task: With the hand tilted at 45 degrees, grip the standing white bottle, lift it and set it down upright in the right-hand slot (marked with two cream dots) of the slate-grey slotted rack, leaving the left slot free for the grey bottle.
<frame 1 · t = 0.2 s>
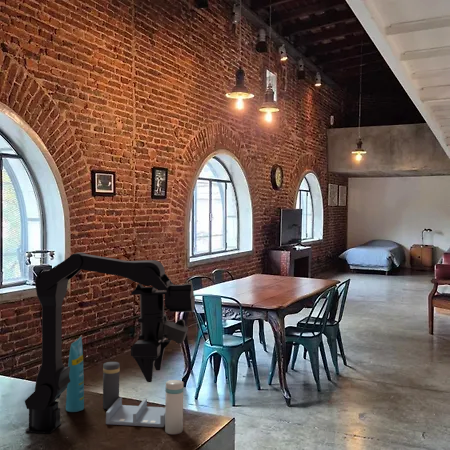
hand: (153, 375, 122), 14 cm above the table, tool pointing down, fingers open, 9 cm apart
grey bottle: (110, 406, 139), on the table
tube: (75, 409, 137), on the table
slot rack: (140, 417, 132), on the table
white bottle: (173, 430, 124), on the table
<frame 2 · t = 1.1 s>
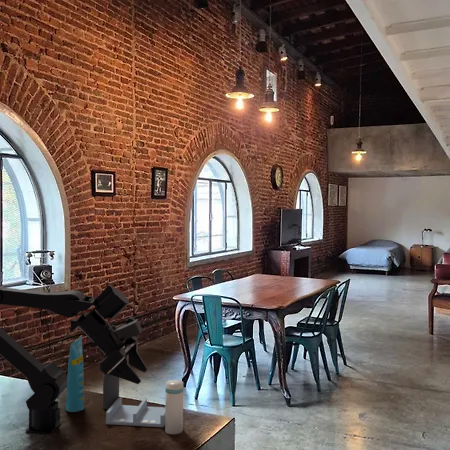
hand: (142, 376, 124), 13 cm above the table, tool tilted 45°, fingers open, 9 cm apart
nothing on the table moved.
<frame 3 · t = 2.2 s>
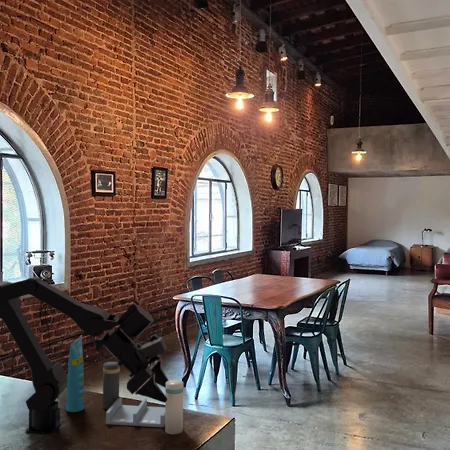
hand: (168, 394, 124), 9 cm above the table, tool tilted 45°, fingers open, 9 cm apart
nothing on the table moved.
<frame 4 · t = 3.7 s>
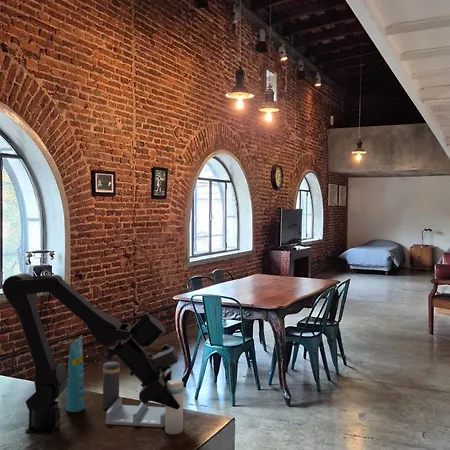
hand: (179, 404, 124), 7 cm above the table, tool tilted 45°, fingers closed on white bottle, 4 cm apart
white bottle: (173, 430, 124), on the table, touching gripper
everything else where it was.
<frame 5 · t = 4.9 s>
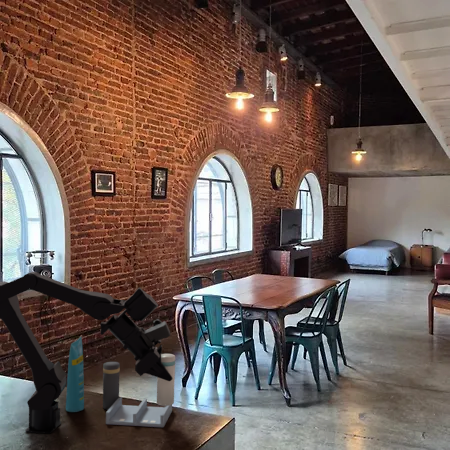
hand: (171, 377, 128), 12 cm above the table, tool tilted 45°, fingers closed on white bottle, 4 cm apart
white bottle: (165, 402, 128), point 6 cm above the table, touching gripper
everything else where it was.
when the fingers open (8 cm above the table, at t = 6.6 s): white bottle drops 1 cm, resting on slot rack.
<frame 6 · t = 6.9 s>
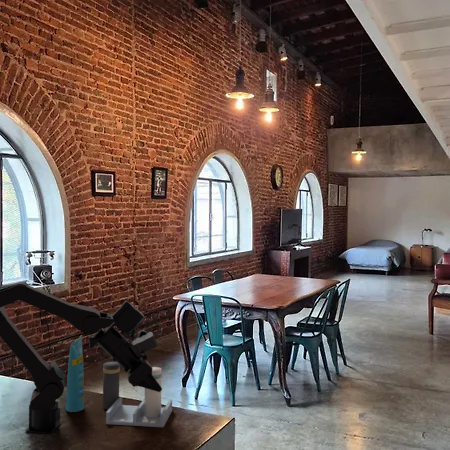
hand: (158, 385, 132), 9 cm above the table, tool tilted 45°, fingers open, 8 cm apart
white bottle: (152, 414, 132), point 1 cm above the table, touching slot rack
everything else where it was.
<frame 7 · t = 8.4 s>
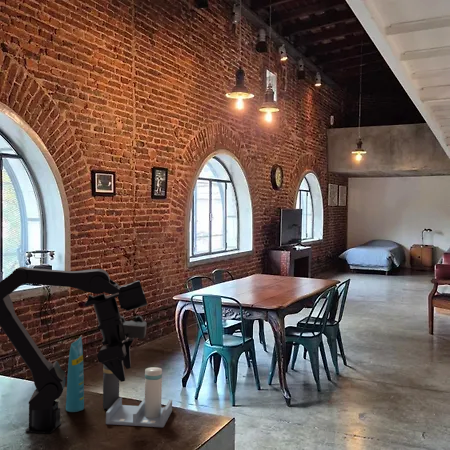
hand: (126, 374, 128), 13 cm above the table, tool tilted 15°, fingers open, 9 cm apart
nothing on the table moved.
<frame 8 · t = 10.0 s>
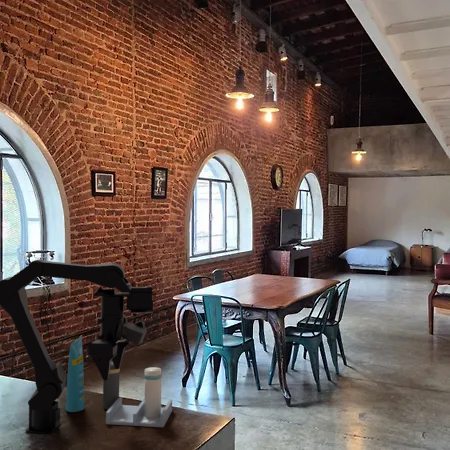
hand: (111, 374, 127), 13 cm above the table, tool pointing down, fingers open, 9 cm apart
nothing on the table moved.
at the end: white bottle inside the target area on the slot rack (0.1 cm from its centre), point 0.8 cm above the slot rack's base; white bottle tilted 1°; white bottle touching slot rack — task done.
